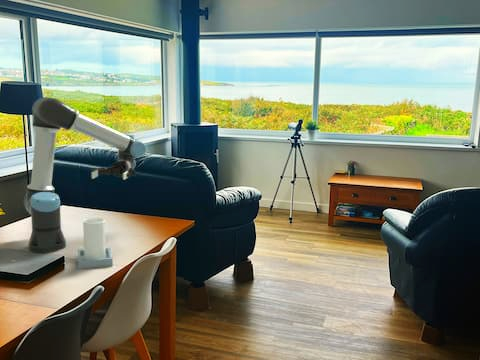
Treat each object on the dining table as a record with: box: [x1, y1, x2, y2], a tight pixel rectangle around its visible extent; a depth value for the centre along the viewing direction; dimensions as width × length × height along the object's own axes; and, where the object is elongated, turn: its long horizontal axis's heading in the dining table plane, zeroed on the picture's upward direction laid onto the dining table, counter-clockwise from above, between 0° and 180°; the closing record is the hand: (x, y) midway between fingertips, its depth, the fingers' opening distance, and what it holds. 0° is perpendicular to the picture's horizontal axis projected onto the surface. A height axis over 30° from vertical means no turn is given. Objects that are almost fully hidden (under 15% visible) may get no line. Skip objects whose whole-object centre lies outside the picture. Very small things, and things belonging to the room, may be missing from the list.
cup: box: [82, 217, 106, 260], centre depth 187 cm, size 8×8×16 cm
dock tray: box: [77, 247, 114, 269], centre depth 188 cm, size 13×13×3 cm
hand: (108, 176), depth 200 cm, fingers open, 13 cm apart
